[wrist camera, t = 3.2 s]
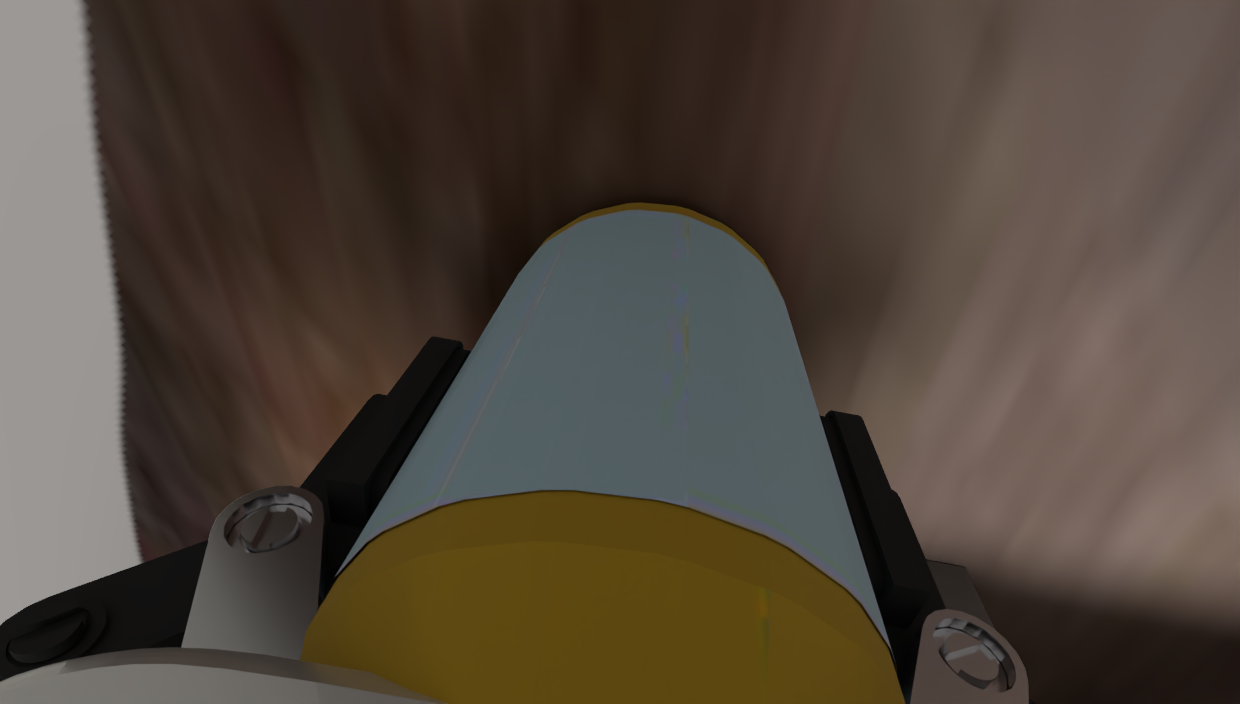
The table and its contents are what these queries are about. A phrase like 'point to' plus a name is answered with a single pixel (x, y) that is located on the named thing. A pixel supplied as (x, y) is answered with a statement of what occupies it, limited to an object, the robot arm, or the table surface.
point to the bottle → (620, 498)
